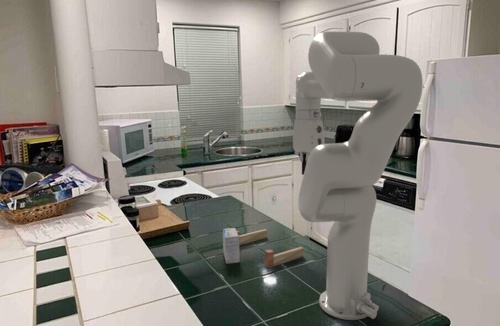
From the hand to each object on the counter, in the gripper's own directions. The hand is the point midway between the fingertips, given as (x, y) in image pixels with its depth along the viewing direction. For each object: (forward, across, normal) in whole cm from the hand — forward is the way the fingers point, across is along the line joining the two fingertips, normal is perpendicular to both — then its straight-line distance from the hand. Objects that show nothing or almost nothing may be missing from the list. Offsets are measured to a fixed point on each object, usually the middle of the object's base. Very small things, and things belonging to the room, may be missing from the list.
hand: (307, 174), depth 115 cm
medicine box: (+26, +12, +22) cm, 36 cm away
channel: (+26, +9, +8) cm, 29 cm away
